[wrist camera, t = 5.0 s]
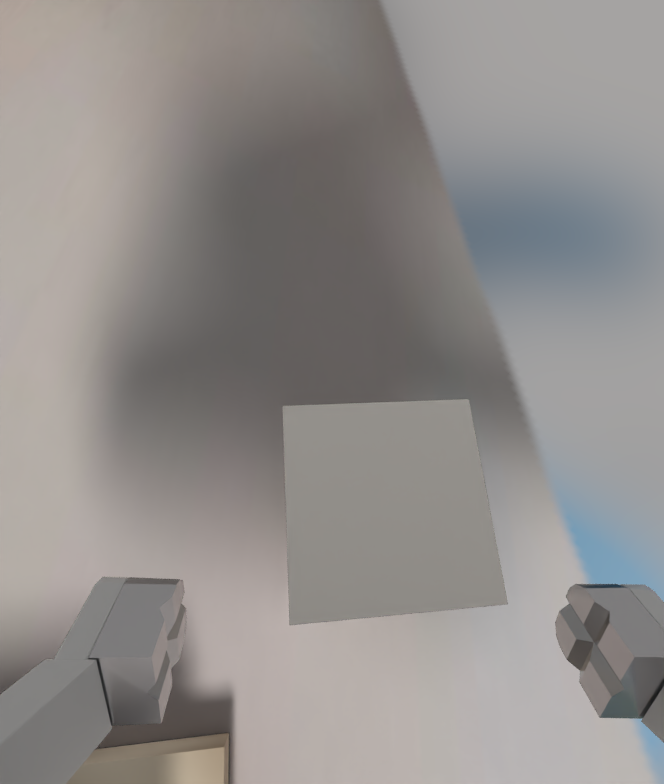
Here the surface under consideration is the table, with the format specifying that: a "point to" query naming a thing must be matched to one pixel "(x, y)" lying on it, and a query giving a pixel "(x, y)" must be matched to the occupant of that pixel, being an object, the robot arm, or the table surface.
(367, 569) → the peg
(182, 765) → the peg socket base
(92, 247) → the table surface
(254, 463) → the table surface
